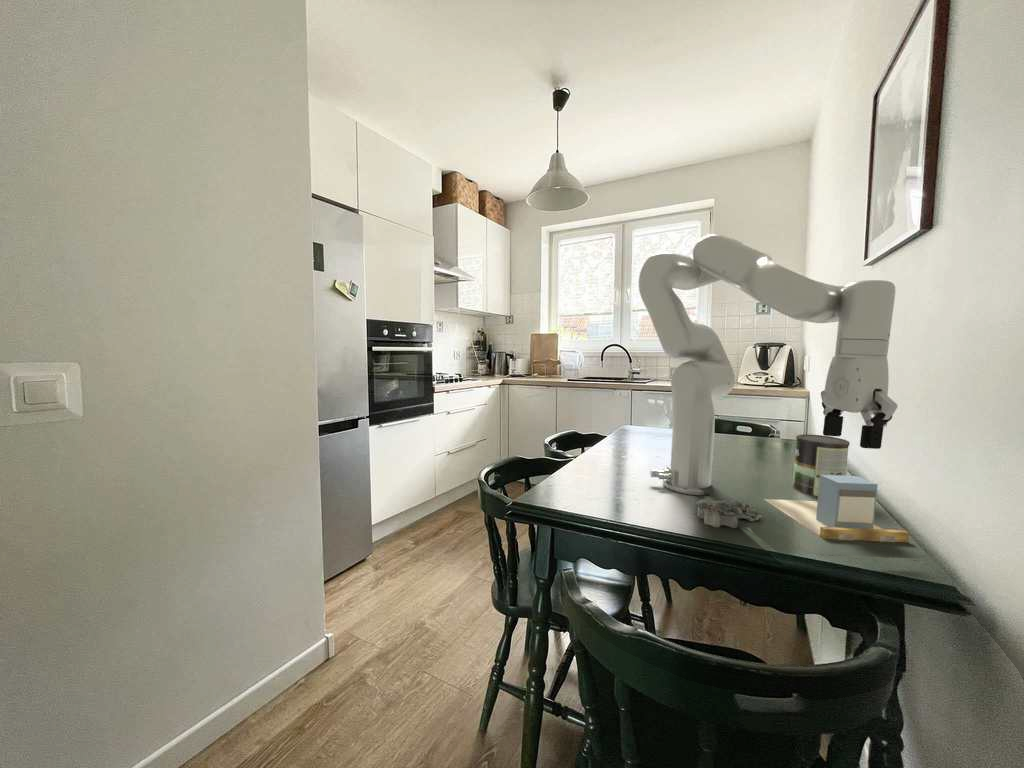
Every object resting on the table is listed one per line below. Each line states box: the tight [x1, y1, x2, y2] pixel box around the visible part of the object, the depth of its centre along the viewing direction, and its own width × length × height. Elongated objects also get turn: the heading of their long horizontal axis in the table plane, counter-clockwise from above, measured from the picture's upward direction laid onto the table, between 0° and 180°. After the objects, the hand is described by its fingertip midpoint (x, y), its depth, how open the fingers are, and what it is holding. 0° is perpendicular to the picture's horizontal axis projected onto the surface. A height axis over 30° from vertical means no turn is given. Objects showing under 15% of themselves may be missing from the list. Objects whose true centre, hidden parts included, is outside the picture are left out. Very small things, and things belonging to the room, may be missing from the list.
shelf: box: [763, 498, 910, 543], centre depth 86 cm, size 14×20×3 cm
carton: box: [816, 475, 879, 529], centre depth 82 cm, size 5×7×9 cm
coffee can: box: [792, 433, 850, 497], centre depth 103 cm, size 10×10×14 cm
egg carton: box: [695, 498, 763, 529], centre depth 87 cm, size 11×8×4 cm
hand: (849, 441), depth 81 cm, fingers open, 9 cm apart
